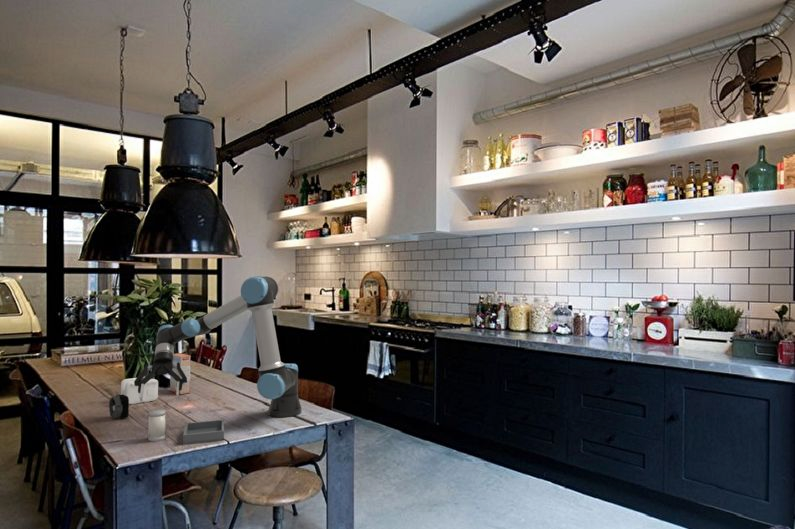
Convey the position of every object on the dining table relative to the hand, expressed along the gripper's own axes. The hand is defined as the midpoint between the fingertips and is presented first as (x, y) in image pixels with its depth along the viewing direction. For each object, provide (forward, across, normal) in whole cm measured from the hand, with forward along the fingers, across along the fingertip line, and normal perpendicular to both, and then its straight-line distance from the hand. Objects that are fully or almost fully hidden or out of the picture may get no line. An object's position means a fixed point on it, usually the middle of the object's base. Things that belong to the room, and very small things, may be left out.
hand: (159, 397), depth 203 cm
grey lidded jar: (+17, 0, -3) cm, 17 cm away
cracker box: (-43, -2, -63) cm, 76 cm away
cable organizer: (-32, +16, -52) cm, 63 cm away
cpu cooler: (-10, +20, -31) cm, 38 cm away
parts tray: (+18, -18, -1) cm, 26 cm away
